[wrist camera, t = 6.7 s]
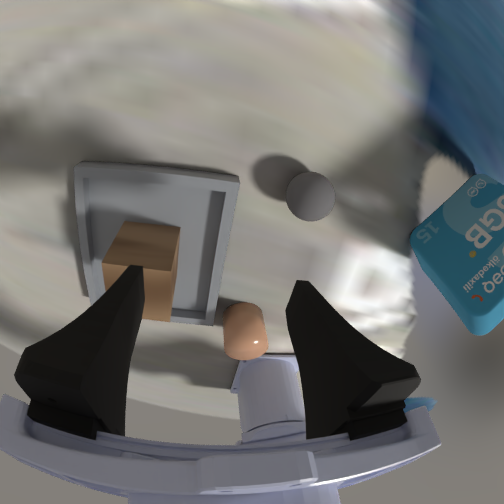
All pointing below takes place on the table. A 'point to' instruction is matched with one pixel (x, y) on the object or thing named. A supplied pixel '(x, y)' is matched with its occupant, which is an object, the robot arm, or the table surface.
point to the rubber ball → (310, 196)
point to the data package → (467, 252)
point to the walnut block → (147, 263)
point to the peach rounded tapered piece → (244, 331)
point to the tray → (161, 213)
